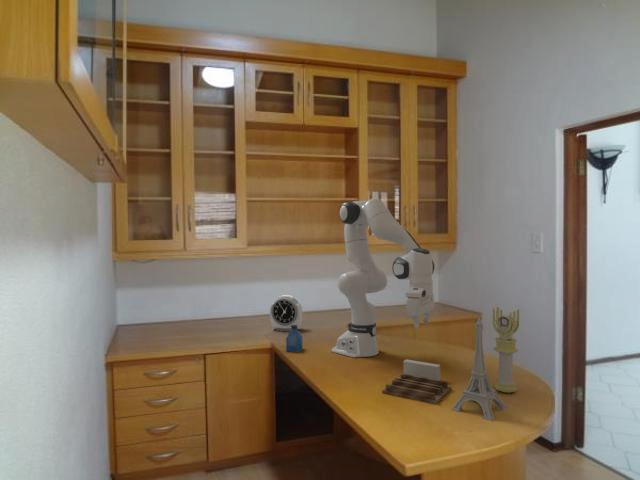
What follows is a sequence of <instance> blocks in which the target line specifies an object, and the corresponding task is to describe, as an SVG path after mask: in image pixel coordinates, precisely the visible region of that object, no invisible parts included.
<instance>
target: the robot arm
mask: <svg viewBox="0 0 640 480" xmlns="http://www.w3.org/2000/svg"><path fill="white" fill-rule="evenodd" d="M338 215H339V219H340V221H341V222H342V223H343V224H344V226H343V228H344V229H343V234H344V235H343V236H344V237H343V238H344V244H345V245H344V246H345V252H346V259H347V260H348V261H349V263H352V264H353V265H354V266H355V268H356V269H357V270H353V271H348V272H345V273H342V274H340V276H339V277H338V279H337V287H338V290H339V291H340V292H341V294H342V295H344V296H345V297H346V299H347V300H348V303H349V305H350V312H351V317H350V318H351V322H349V323H348V324H347V325H346V328H348V329H347V330H346V331H345V332H343V334H341V335H340V336H338V338H337V340H336V345H335V346H334V347H331V352H332V353H335V354H340V355H343V356H348V357H351V358H362V357H365V358H366V357H373V356H377V355H378V354H379V349H378V344H377V337H376V335H377V334H376V333H377V323H376V308H375V306H374V305H373V303H371V302H370V301H368V300H367V296H366V295H367V294H373V293H374V294H375V293H378V292H381V291H383V290H384V289H386V287H387V285H388V278H387V275H386V273H385V272H384V271H382V270H381V269H380V268H379V267H378V266H377V265H376V263H375V261H374V259H373V257H372V253H371V250H370V245H369V239H368V234H367V229H368V227H369V229H370V231H371V232H372V234H373V235H374V236H375V237H376V238H377V239H380V240H383V241H387V242H391V243H394V244H397V245H399V246H401V247H402V249H404V251H405V252H406V254H404V255H401V256H398V257H396V258H395V259H394V260H393V262H392V265H391V266H392V274H393V275H394V277H395V279H398V280H402V281H403V280H404V281H405V280H407V281H408V280H409V286H408V288H407V289H406V290H405V297H406V301H405V302H406V314H407V317H409V318H412V322H413V327H414V328H415V329H416V328H417V329H418V328H420V327H421V325H420V321H419V320H420V317H421V316H423V318H422V323H423V324H427V323H429V318H430V315H431V311H434V309H435V297H434V292H433V290H434V288H433V287H434V285H433V278H432V277H433V274H434V271H435V261H434V260H433V257H432V253H431V251H430V250H428V249H425V248H422V247H421V246H420V244H419V243H418V242H417V240H415V238H414V237H413V236H412V235H411V233H410V232H409V231H408V230H407V229H406V228H405V227H404V226H402V225H401V224H400V223H399V222H398V221H397V220H396V219H395V218H394V216H393V215H392V213H391V212H390V210H389V208H388V207H387V206H386V204H385V203H384V202H383V201H382V200H380V199H379V198H371V199H369V200H355V201H350V200H349V201H346V202H343V203H342V204H341V205H340V207H339V211H338Z"/></svg>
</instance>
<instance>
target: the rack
mask: <svg viewBox="0 0 640 480" xmlns="http://www.w3.org/2000/svg"><path fill="white" fill-rule="evenodd" d="M448 383H449V382H448V381H445V380H441V379H440V380H435V379H430V378H424V377H419V376H413V375H408V374H403V373H400V377H394V379H392V380H391V383H386V384H385V387H384V388H383V389H382V391H381V392H382V394H385V393H386V395H390V396H395V397H400V398H404V399H410V400H414V401H419V402H424V403H428V404H433V405H437V404H439V402H440V401H441V400H443V398H444V397H445V396H447V395H448V394H449V393H450V392H451V391H452V387H451V386H449V384H448Z"/></svg>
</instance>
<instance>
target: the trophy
mask: <svg viewBox="0 0 640 480" xmlns="http://www.w3.org/2000/svg"><path fill="white" fill-rule="evenodd" d="M492 325H493V329H494V330H495V332H496V333H497V334H498V337H495V338H494V340H495V341H496V342H495V343H496V345H495V347H493V350H494V351H495V352H497V353H498V379H497V381H496V383H495V384H494V389H495V390H497V391H498V392H502V393H506V394H507V393H515V392H516V391H517V389H518V388H517V386H516V383H515V382H514V380H513V356H514V355H513V354H516V353H517V352H519V349H517V347H516V342H518V341H517V339H516V338H514V337H513V336H514V334H515V333H517V331H518V329H519V328H520V309H517V310H513V311H512V312H509V313H508V314H504V315H503V310H502V309H500V308H499V306H496V309H495V308H494V307H492Z"/></svg>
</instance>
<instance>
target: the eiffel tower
mask: <svg viewBox="0 0 640 480" xmlns="http://www.w3.org/2000/svg"><path fill="white" fill-rule="evenodd" d="M483 329H484V324H483V322H482V319H481V318H480V317H477V321H476V323H475V326H474V330H475V332H476V335H475V348H474V349H475V350H474V357H473V358H474V359H473V365H472V371H470V374H471V376H470V379H469V381H468V383H467V386H466V388H464V390H462V394H461V396H460V397H459V398H458V400H457V401H456V402H455V404H453V406H452V407H451V408H450V410H452V411H455V412H458V413H459V412H460V411H462V410H463V406H464V404H465V403H466V402H472V403H473V402H477V403H478V404H479V406H480V407H481V409H482V411H483V417H482V419H484V420H486V421H491V422H493V420H495V418H496V417H495V416H494V414H493V411H492V410H493V409H492V405H491V404H492V401H493V402H494V404H495V406H496V407H495V409H498V410H502V411H505V410H507V408H508V406H506V405H505V403H504V402H503V400H502V399H501V398H500V397H499V396H498V394H497V393H496V392H497V391H496V390H497V389H495V388H494V389H493V387H492V384H491V383H490V380H489V377H488V373H489V372H488V371H487V369H486V364H485V357H484V345H483Z"/></svg>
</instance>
